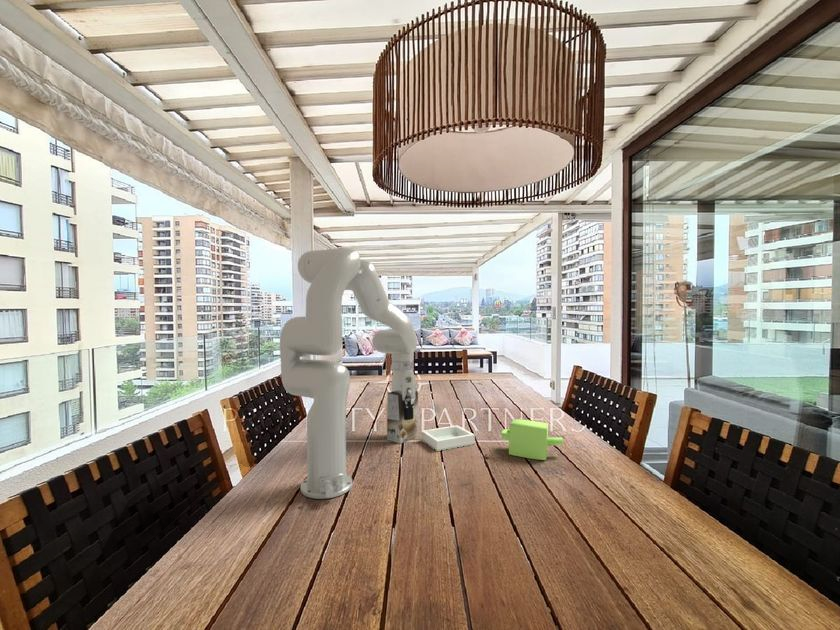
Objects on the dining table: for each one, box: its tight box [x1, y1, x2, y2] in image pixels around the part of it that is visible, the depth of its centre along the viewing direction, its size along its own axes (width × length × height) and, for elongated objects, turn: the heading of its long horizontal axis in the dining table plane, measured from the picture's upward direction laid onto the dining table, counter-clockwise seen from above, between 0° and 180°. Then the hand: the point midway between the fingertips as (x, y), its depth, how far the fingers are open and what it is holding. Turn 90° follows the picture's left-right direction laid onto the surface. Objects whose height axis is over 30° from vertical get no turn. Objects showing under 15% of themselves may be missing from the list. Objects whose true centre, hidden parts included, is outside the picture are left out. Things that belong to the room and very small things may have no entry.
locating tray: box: [421, 425, 476, 452], centre depth 127 cm, size 11×14×3 cm
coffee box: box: [386, 390, 419, 444], centre depth 131 cm, size 9×6×16 cm
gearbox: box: [501, 418, 564, 461], centre depth 118 cm, size 18×10×10 cm, turn 68°
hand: (402, 415), depth 131 cm, fingers open, 9 cm apart
